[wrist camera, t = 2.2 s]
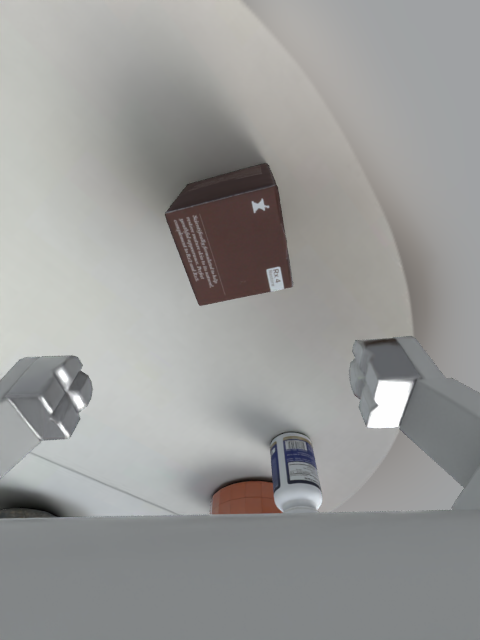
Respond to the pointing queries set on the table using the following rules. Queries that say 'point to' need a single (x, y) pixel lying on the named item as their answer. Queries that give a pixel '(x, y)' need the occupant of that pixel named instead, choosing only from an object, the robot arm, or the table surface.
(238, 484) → the clay bowl
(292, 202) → the table surface
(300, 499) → the pill bottle
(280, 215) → the box
